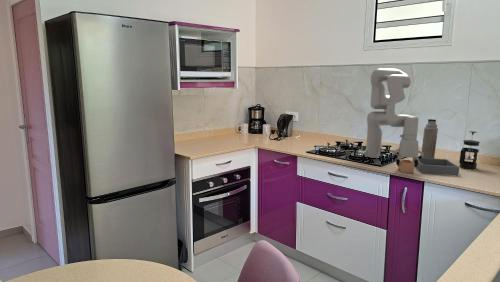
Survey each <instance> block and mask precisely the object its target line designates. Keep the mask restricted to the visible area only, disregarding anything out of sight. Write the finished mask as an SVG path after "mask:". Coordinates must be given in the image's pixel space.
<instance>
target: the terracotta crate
mask: <svg viewBox="0 0 500 282" xmlns="http://www.w3.org/2000/svg"><path fill="white" fill-rule="evenodd" d="M399 159H400V164H399V166H397V170H398V171H399V172H400V173H402V174H414V172H415V167H414V166H415V163H414V162H412V160H411V159H403V158H402V159H401V158H399Z"/></svg>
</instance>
